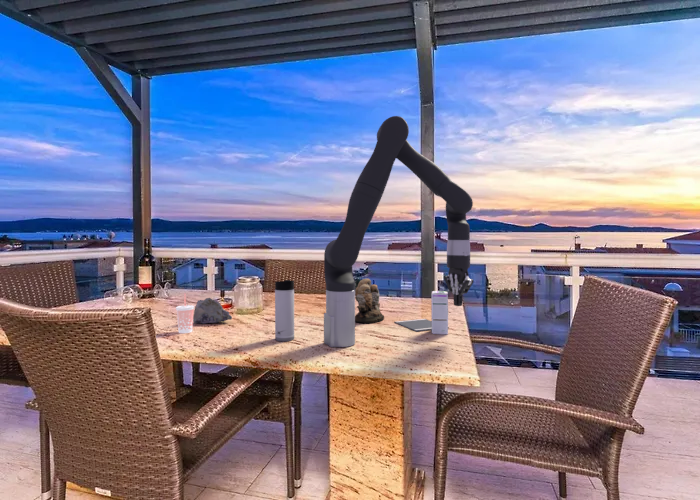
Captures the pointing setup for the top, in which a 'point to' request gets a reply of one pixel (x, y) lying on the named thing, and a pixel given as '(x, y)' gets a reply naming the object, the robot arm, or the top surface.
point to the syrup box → (439, 312)
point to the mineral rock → (210, 312)
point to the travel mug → (284, 310)
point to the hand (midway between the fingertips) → (457, 305)
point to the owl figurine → (368, 303)
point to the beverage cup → (185, 317)
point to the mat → (416, 324)
